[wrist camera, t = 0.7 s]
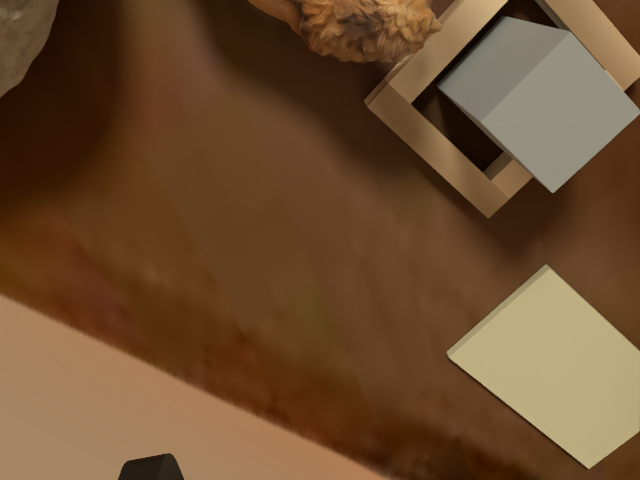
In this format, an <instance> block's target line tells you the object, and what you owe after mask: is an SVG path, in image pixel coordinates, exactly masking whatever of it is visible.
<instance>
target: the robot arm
mask: <svg viewBox="0 0 640 480" xmlns="http://www.w3.org/2000/svg"><path fill="white" fill-rule="evenodd" d="M118 480H184V478H183V476H182V473H181V471H180V468H179V466H178V463H177V461H176V459H175V458H174V456H173V455H172V454H169V453H168V454H162V455H157V456H151V457H146V458H141V459H135V460H130V461H127V462H126V463H125V464H124V466H123V467H122V470H121V473H120V476H119V479H118Z"/></svg>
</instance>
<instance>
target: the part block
mask: <svg viewBox="0 0 640 480" xmlns="http://www.w3.org/2000/svg"><path fill="white" fill-rule="evenodd" d="M436 86H437V87H438V88H439V89H440V90H441V91H442V92H443V93H444V94H445V95H446V96H447V97H448V98H449V99H450V100H451V101H452V102H453V103H454V104H455V105H456V106H457V107H458V108H459V109H460V110H461V111H462V112H463V113H464V114H465V115H466V116H467V117H468V118H469V119H470V120H471V121H472V122H473V123H474V124H475V125H477V126H478V127H479V128H480V129H481V130H482V131H483V132H484V133H485V134H486V135H487V136H488V137H489V138H490V139H491V140H492V141H493V142H494V143H495V144H496V145H497V146H498V147H500V148H501V149H502V150H503V151H504V152H505V153H506V154H508V155H509V156H510V157H511V158H512V159H513V160H515V161H516V162H517V163H518V164H519V165H520V166H521V167H523V168H524V169H525V170H526V171H527V172H528V173H530V174H531V175H532V176H533V177H534V178H535V179H536V180H538V181H539V182H540V183H541V184H542V185H543V186H545V187H546V188H547V189H548V190H549V191H550V192H552V193H554V192H555V191H556V190H557V189H558V188H560V187H561V186H562V185H563V184H564V183H565V182H566V181H567V180H568V179H569V178H570V177H571V176H573V175H574V174H575V173H576V172H577V171H578V170H579V169H580V168H581V167H582V166H583V165H585V164H586V163H587V162H588V161H589V160H590V159H591V158H592V157H593V156H594V155H595V154H596V153H598V152H599V151H600V150H601V149H602V148H603V147H604V146H605V145H606V144H607V143H608V142H610V141H611V140H612V139H613V138H614V137H615V136H616V135H617V134H618V133H619V132H620V131H621V130H623V129H624V128H625V127H626V126H627V125H628V124H629V123H630V122H631V121H632V120H633V119H635V118H636V117H637V116H638V115H639V114H640V110H639V109H638V107H637V106H636V105H635V104H634V103H633V102H632V101H631V100H630V98H629V97H628V96H627V95H626V94H625V93H624V92H623V90H622V89H621V88H620V87H619V86H618V85H617V84H616V83H615V81H614V80H613V79H612V78H611V77H610V76H609V75H608V73H607V72H606V71H605V70H604V69H603V68H602V67H601V66H600V64H599V63H598V62H597V61H596V60H595V59H594V58H593V56H592V55H591V54H590V53H589V52H588V51H587V50H586V49H585V47H584V46H583V45H582V44H581V43H580V42H579V41H578V39H577V38H576V37H575V36H574V35H573V34H572V33H571V32H570V31H566V30H561V29H557V28H553V27H549V26H544V25H540V24H536V23H532V22H528V21H523V20H519V19H515V18H511V17H506V16H501V17H500V18H499V19H498V20H497V22H496V23H495V24H494V25H493V26H492V27H491V28H490V29H489V30H488V31H487V32H486V33H485V34H484V35H483V36H482V37H481V38H480V39H479V41H478V42H477V43H476V44H475V45H474V46H473V47H472V48H471V49H470V50H469V51H468V52H467V53H466V54H465V55H464V56H463V57H462V58H461V59H460V61H459V62H458V63H457V64H456V65H455V66H454V67H453V68H452V69H451V70H450V71H449V72H448V73H447V74H446V75H445V76H444V77H443V78H442V80H441V81H440V82H439V83H438V84H437V85H436Z"/></svg>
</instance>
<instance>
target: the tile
mask: <svg viewBox="0 0 640 480" xmlns="http://www.w3.org/2000/svg"><path fill="white" fill-rule="evenodd" d="M447 355H448V357H449V358H450V359H451V360H452V361H454V362H455V363H456V364H457V365H459V366H460V367H461V368H462V369H464V370H465V371H466V372H467V373H469V374H470V375H471V376H473V377H474V378H475V379H476V380H478V381H479V382H480V383H481V384H483V385H484V386H485V387H486V388H488V389H489V390H490V391H491V392H493V393H494V394H495V395H496V396H498V397H499V398H500V399H501V400H503V401H504V402H505V403H506V404H508V405H509V406H510V407H512V408H513V409H514V410H515V411H517V412H518V413H519V414H520V415H522V416H523V417H524V418H525V419H527V420H528V421H529V422H530V423H532V424H533V425H534V426H535V427H537V428H538V429H539V430H540V431H542V432H543V433H544V434H545V435H547V436H548V437H549V438H551V439H552V440H553V441H554V442H556V443H557V444H558V445H559V446H561V447H562V448H563V449H564V450H566V451H567V452H568V453H569V454H571V455H572V456H573V457H574V458H576V459H577V460H578V461H579V462H581V463H582V464H583V465H584V466H586V467H587V468H588V469H590V468H591V467H592V466H594V465H595V464H596V463H598V462H599V461H600V460H602V459H603V458H604V457H606V456H607V455H608V454H610V453H611V452H612V451H614V450H615V449H616V448H618V447H619V446H620V445H622V444H623V443H624V442H626V441H627V440H628V439H630V438H631V437H632V436H634V435H635V434H636V433H638V432H639V431H640V350H639V349H637V348H636V347H635V346H634V345H633V344H632V343H631V342H630V341H629V340H628V339H627V338H626V337H625V336H624V335H622V334H621V333H620V332H619V331H618V330H617V329H616V328H615V327H614V326H613V325H612V324H611V323H610V322H608V321H607V320H606V319H605V318H604V317H603V316H602V315H601V314H600V313H599V312H598V311H597V310H596V309H594V308H593V307H592V306H591V305H590V304H589V303H588V302H587V301H586V300H585V299H584V298H583V297H582V296H580V295H579V294H578V293H577V292H576V291H575V290H574V289H573V288H572V287H571V286H570V285H569V284H568V283H567V282H565V281H564V280H563V279H562V278H561V277H560V276H559V275H558V274H557V273H556V272H555V271H554V270H553V269H551V268H550V267H549V266H548V265H547V264H545V265H544V266H543V267H542V268H541V269H540V270H539V271H537V272H536V273H535V274H534V275H533V276H532V277H531V278H529V279H528V280H527V281H526V282H525V283H524V284H523V285H522V286H520V287H519V288H518V289H517V290H516V291H515V292H514V293H512V294H511V295H510V296H509V297H508V298H507V299H506V300H505V301H503V302H502V303H501V304H500V305H499V306H498V307H497V308H496V309H494V310H493V311H492V312H491V313H490V314H489V315H488V316H486V317H485V318H484V319H483V320H482V321H481V322H480V323H479V324H477V325H476V326H475V327H474V328H473V329H472V330H471V331H469V332H468V333H467V334H466V335H465V336H464V337H463V338H462V339H460V340H459V341H458V342H457V343H456V344H455V345H454V346H453V347H451V348H450V349H449V350H448V351H447Z"/></svg>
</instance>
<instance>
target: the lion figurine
mask: <svg viewBox="0 0 640 480" xmlns="http://www.w3.org/2000/svg"><path fill="white" fill-rule="evenodd" d="M247 1H249V2H250V3H251V4H253V5H254V6H256V7H257V8H259V9H261V10H262V11H264V12H266V13H268V14H269V15H271V16H273V17H275V18H278V19H280V20H282V21H285V22H287V23H288V24H289V25H290V27H291V28H292V30H293V31H294V32H295V33H297V34H298V35H300V36H301V37H302V40H303V42H304V43H305V45H306V46H307V48H308V49H309V50H310V51H314V52H316V53H317V54H319V55H321V56H323V57H325V56H330V57H335V58H337V59H338V60H339V61H342V62H347V61H354V62H357V63H358V62H360V63H365V62H367V61H369V62H372V61H377V60H378V61H379V62H382V63H384V62H387V63H391V62H396V63H400V62H402V61H403V59H404V58H405V57H407V56H409V55H411V54H414V53H416V52H418V51H419V50H420V49H423V48H424V44H425V40H426V39H427V38H428V36H429V35H430V34H432V33H437V32H439V31H441V29H442V25H441V24H440V23H439V22H438V21H437V20H436V17H435V14H434V13H433V12H432V11H431V7H432V3H433V0H247Z"/></svg>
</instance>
